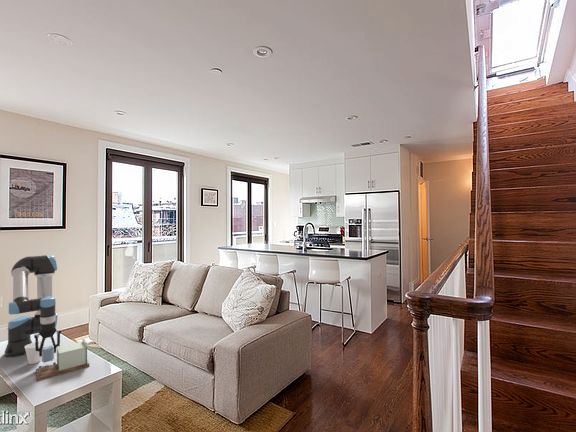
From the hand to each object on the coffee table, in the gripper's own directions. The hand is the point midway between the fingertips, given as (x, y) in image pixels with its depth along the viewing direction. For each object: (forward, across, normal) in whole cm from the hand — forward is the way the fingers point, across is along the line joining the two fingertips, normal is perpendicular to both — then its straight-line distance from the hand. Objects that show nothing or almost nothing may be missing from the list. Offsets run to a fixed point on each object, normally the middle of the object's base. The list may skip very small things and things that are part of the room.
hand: (47, 359), depth 192 cm
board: (+3, +6, -13) cm, 15 cm away
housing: (+1, +11, -13) cm, 17 cm away
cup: (+4, -6, +10) cm, 12 cm away
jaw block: (0, 0, 0) cm, 0 cm away
